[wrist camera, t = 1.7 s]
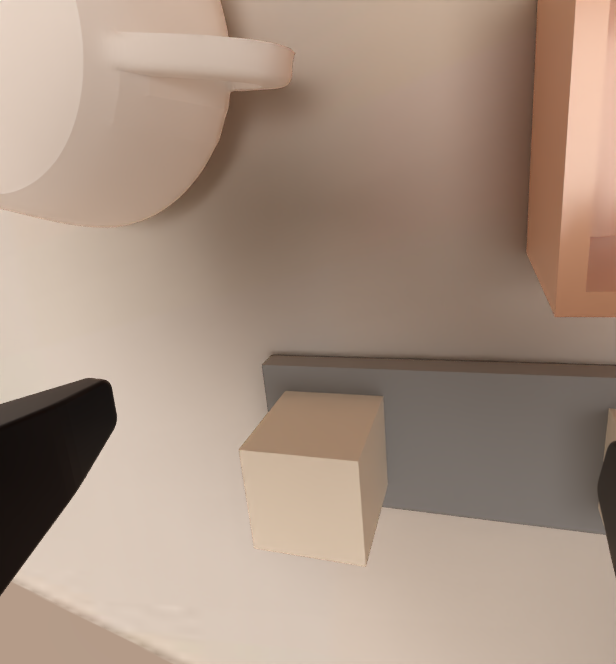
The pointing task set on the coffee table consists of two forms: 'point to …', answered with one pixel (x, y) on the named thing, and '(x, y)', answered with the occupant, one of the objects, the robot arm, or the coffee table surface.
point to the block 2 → (609, 437)
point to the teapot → (117, 103)
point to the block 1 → (317, 476)
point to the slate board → (477, 432)
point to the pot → (574, 157)
